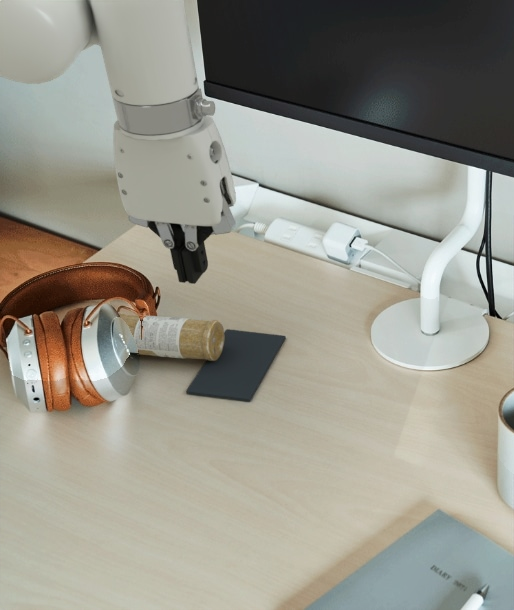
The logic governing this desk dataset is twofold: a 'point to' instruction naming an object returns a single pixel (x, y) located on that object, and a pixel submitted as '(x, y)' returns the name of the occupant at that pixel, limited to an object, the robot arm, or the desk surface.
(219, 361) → the mat
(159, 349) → the brown spice jar
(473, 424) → the desk surface
